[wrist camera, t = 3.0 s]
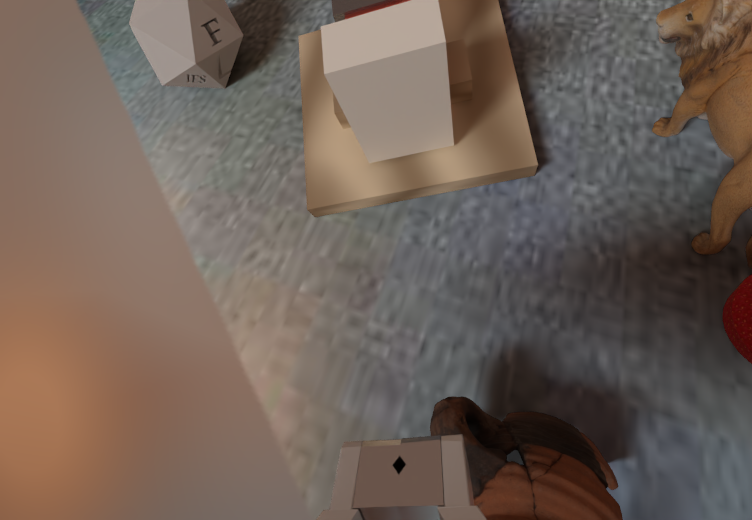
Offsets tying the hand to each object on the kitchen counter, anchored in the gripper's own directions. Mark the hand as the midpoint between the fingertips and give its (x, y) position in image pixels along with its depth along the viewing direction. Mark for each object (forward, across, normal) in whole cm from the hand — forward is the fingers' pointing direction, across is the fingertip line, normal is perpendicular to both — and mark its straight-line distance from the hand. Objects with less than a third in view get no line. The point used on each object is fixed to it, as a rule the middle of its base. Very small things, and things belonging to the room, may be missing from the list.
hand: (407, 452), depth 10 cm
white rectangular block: (+22, 0, -3) cm, 22 cm away
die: (+33, +17, -11) cm, 38 cm away
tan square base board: (+26, 0, -5) cm, 27 cm away
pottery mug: (+8, -3, +14) cm, 17 cm away
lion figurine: (+20, -17, +2) cm, 27 cm away
